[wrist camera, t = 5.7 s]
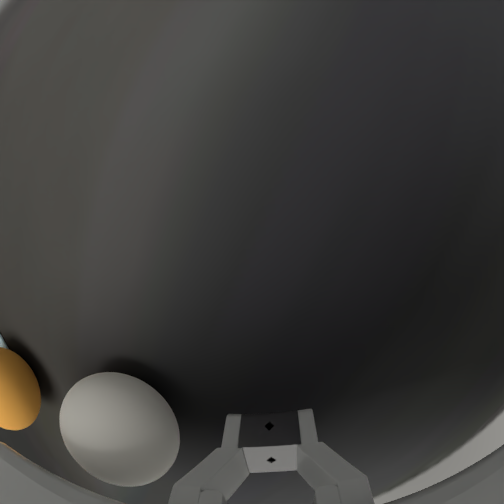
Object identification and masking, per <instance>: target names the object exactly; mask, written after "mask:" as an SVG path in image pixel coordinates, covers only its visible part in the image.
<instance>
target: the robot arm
mask: <svg viewBox="0 0 504 504" xmlns="http://www.w3.org/2000/svg"><path fill="white" fill-rule="evenodd" d="M293 470H297V472H298V473H299V474H300V475H301V476H302V477H303V478H304V480H305V481H306V482H307V483H308V484H309V485H310V486H311V487H312V488H313V489H314V490H315V496H314V501H313V504H374V500H373V497H372V493H371V489H370V485H369V482H368V478H367V476H366V475H365V474H363V473H362V472H361V471H359V470H358V469H357V468H355V467H354V466H353V465H351V464H350V463H349V462H347V461H346V460H345V459H343V458H342V457H341V456H340V455H338V454H337V453H336V452H335V451H333V450H332V449H331V448H330V447H328V446H327V445H326V444H325V443H324V442H318V437H317V432H316V426H315V420H314V415H313V410H312V409H304V410H298V411H297V410H294V411H285V412H274V413H261V414H228V415H227V417H226V422H225V428H224V434H223V440H222V445H221V448H216V449H215V450H214V451H213V452H212V453H211V454H209V455H208V456H207V457H206V458H205V459H204V460H203V461H201V462H200V463H199V464H198V465H197V466H196V467H194V468H193V469H192V470H191V471H190V472H188V473H187V474H186V475H185V476H184V477H182V478H181V479H180V480H179V481H177V482H176V483H175V484H174V485H173V488H172V492H171V495H170V498H169V502H168V504H228V503H227V500H228V499H229V498H230V497H231V496H232V494H233V493H234V492H235V491H236V490H237V489H238V487H239V486H240V485H241V484H242V483H243V481H244V480H245V479H246V478H247V476H248V475H249V473H258V472H275V471H293ZM0 504H126V503H122V502H119V501H116V500H113V499H110V498H107V497H105V496H102V495H99V494H97V493H94V492H92V491H89V490H87V489H84V488H82V487H80V486H78V485H75V484H73V483H71V482H69V481H67V480H65V479H63V478H61V477H59V476H57V475H55V474H53V473H51V472H49V471H47V470H45V469H44V468H42V467H40V466H38V465H37V464H35V463H33V462H32V461H30V460H28V459H27V458H25V457H24V456H22V455H20V454H19V453H17V452H16V451H14V450H13V449H12V448H10V447H9V446H7V445H6V444H4V443H2V442H0ZM384 504H504V445H502V446H501V447H499V448H498V449H497V450H495V451H494V452H492V453H491V454H489V455H488V456H486V457H484V458H483V459H481V460H480V461H478V462H476V463H475V464H473V465H471V466H470V467H468V468H466V469H464V470H463V471H461V472H459V473H457V474H455V475H453V476H451V477H449V478H447V479H445V480H443V481H441V482H439V483H437V484H435V485H432V486H430V487H428V488H425V489H423V490H421V491H418V492H416V493H413V494H411V495H408V496H405V497H402V498H400V499H397V500H394V501H391V502H388V503H384Z"/></svg>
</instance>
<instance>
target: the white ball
mask: <svg viewBox="0 0 504 504" xmlns="http://www.w3.org/2000/svg"><path fill="white" fill-rule="evenodd" d="M59 418H60V430H61V435H62V438H63V440H64V443H65V445H66V447H67V449H68V451H69V452H70V454H71V455H72V457H73V458H74V459H75V461H76V462H77V463H78V464H79V465H80V466H81V467H82V468H83V469H84V470H86V471H87V472H88V473H90V474H91V475H93V476H94V477H96V478H98V479H100V480H102V481H105V482H107V483H110V484H114V485H119V486H141V485H145V484H148V483H151V482H153V481H155V480H157V479H159V478H160V477H161V476H163V475H164V474H165V473H166V472H167V471H168V470H169V469H170V467H171V466H172V465H173V463H174V461H175V459H176V457H177V454H178V450H179V445H180V432H179V427H178V423H177V420H176V418H175V415H174V413H173V411H172V409H171V408H170V406H169V404H168V403H167V402H166V400H165V399H164V398H163V397H162V396H161V395H160V394H159V393H158V392H157V391H156V390H155V389H154V388H152V387H151V386H150V385H148V384H147V383H145V382H143V381H142V380H140V379H138V378H135V377H133V376H130V375H127V374H123V373H117V372H103V373H96V374H93V375H90V376H87V377H85V378H83V379H81V380H80V381H79V382H77V383H76V384H75V385H74V386H73V387H72V388H71V389H70V390H69V391H68V393H67V394H66V396H65V398H64V400H63V403H62V406H61V409H60V417H59Z"/></svg>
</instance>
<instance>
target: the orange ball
mask: <svg viewBox="0 0 504 504" xmlns="http://www.w3.org/2000/svg"><path fill="white" fill-rule="evenodd" d="M40 405H41V394H40V388H39V384H38V381H37V379H36V377H35V374H34V373H33V371H32V369H31V368H30V366H29V365H28V364H27V363H26V362H25V360H24V359H22V358H21V357H20V356H19V355H18V354H16V353H15V352H13V351H11V350H9V349H6V348H2V347H0V427H2V428H4V429H8V430H21V429H24V428H26V427H28V426H29V425H31V424H32V423H33V422H34V420H35V419H36V417H37V415H38V413H39V410H40Z"/></svg>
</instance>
